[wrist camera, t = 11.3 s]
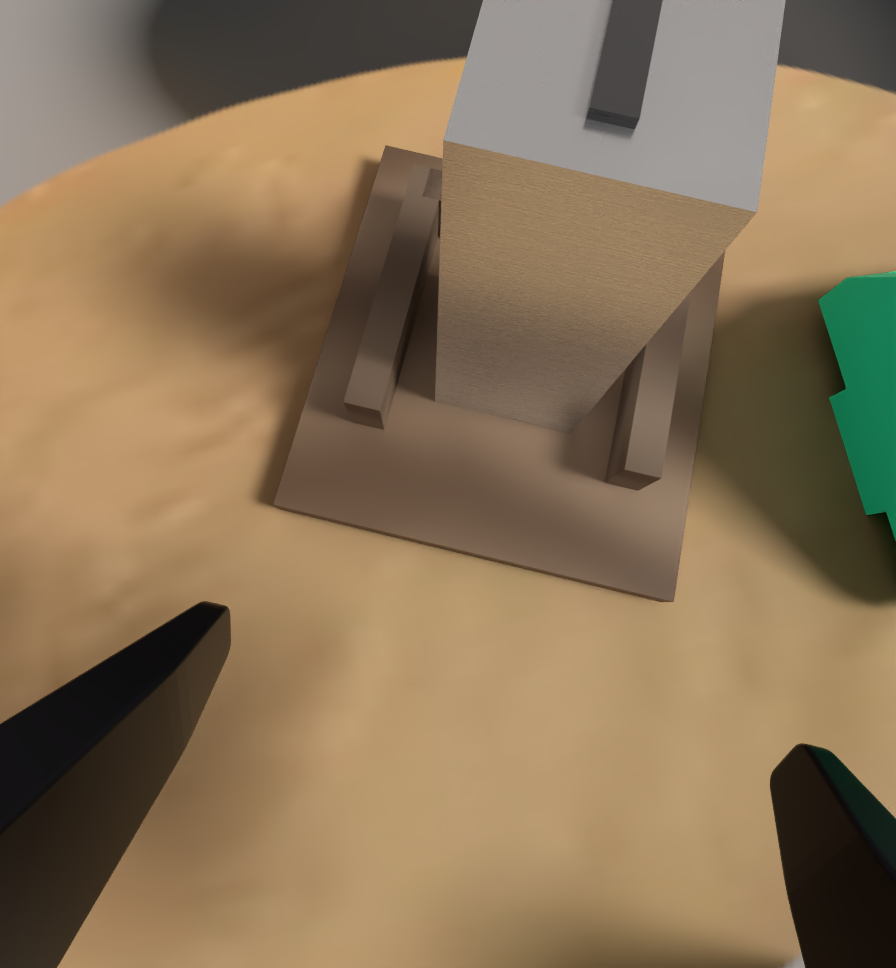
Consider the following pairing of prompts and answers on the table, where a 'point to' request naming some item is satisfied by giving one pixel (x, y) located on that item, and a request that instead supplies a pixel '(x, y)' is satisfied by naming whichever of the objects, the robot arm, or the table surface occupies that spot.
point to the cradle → (491, 424)
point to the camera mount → (867, 383)
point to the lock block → (591, 189)
